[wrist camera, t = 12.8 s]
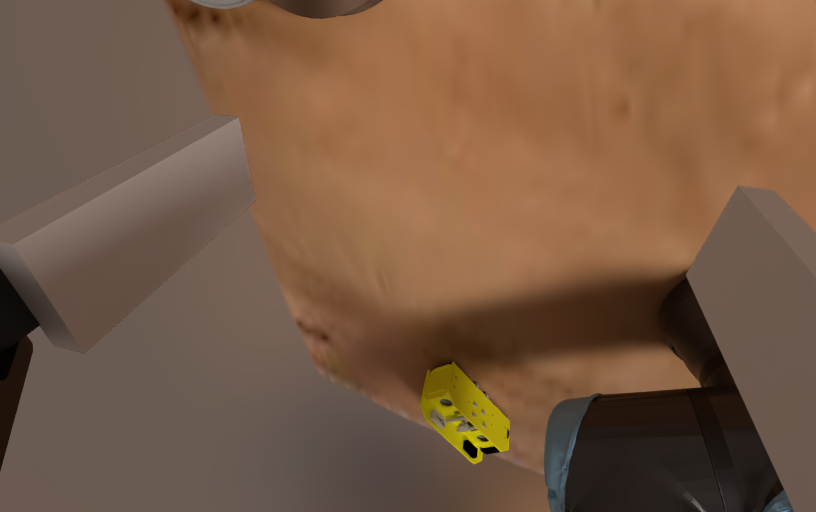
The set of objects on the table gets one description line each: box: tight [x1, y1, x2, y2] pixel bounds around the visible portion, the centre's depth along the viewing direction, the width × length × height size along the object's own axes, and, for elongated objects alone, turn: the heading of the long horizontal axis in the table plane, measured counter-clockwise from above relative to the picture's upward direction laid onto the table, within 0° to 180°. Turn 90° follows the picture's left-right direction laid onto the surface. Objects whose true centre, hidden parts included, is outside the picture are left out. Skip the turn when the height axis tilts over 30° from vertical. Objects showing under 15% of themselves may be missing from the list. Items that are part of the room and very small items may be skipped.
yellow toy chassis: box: [420, 362, 510, 464], centre depth 63 cm, size 16×6×8 cm, turn 40°
